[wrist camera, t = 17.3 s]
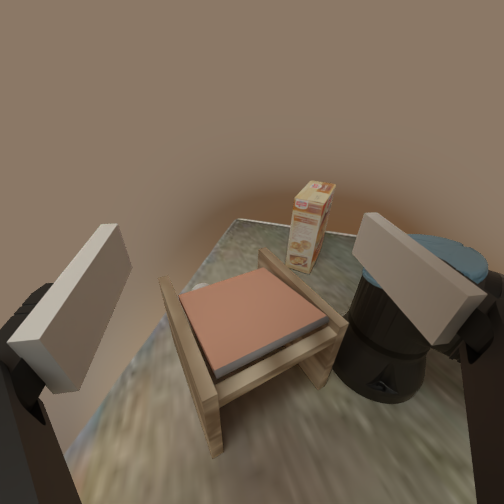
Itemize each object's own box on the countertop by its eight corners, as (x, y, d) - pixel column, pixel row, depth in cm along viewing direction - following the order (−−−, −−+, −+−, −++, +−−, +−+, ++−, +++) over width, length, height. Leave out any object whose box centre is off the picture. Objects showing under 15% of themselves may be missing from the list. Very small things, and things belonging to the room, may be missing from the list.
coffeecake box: (309, 275, 61) (325, 203, 50) (283, 267, 63) (292, 197, 53) (322, 247, 72) (337, 183, 61) (299, 241, 75) (310, 179, 64)
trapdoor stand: (261, 305, 52) (265, 247, 44) (324, 385, 38) (348, 323, 30) (173, 340, 44) (157, 278, 36) (212, 459, 30) (202, 402, 22)
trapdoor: (263, 272, 42) (263, 267, 42) (329, 323, 30) (329, 317, 29) (179, 300, 36) (178, 295, 36) (217, 381, 24) (216, 374, 23)
